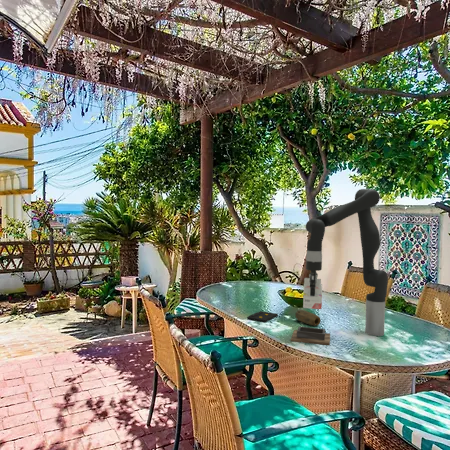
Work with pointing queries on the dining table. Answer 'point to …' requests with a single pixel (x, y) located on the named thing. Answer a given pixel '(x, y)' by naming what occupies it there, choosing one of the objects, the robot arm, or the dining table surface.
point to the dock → (311, 336)
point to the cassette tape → (262, 316)
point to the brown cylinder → (307, 317)
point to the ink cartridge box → (312, 301)
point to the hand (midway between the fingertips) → (312, 294)
